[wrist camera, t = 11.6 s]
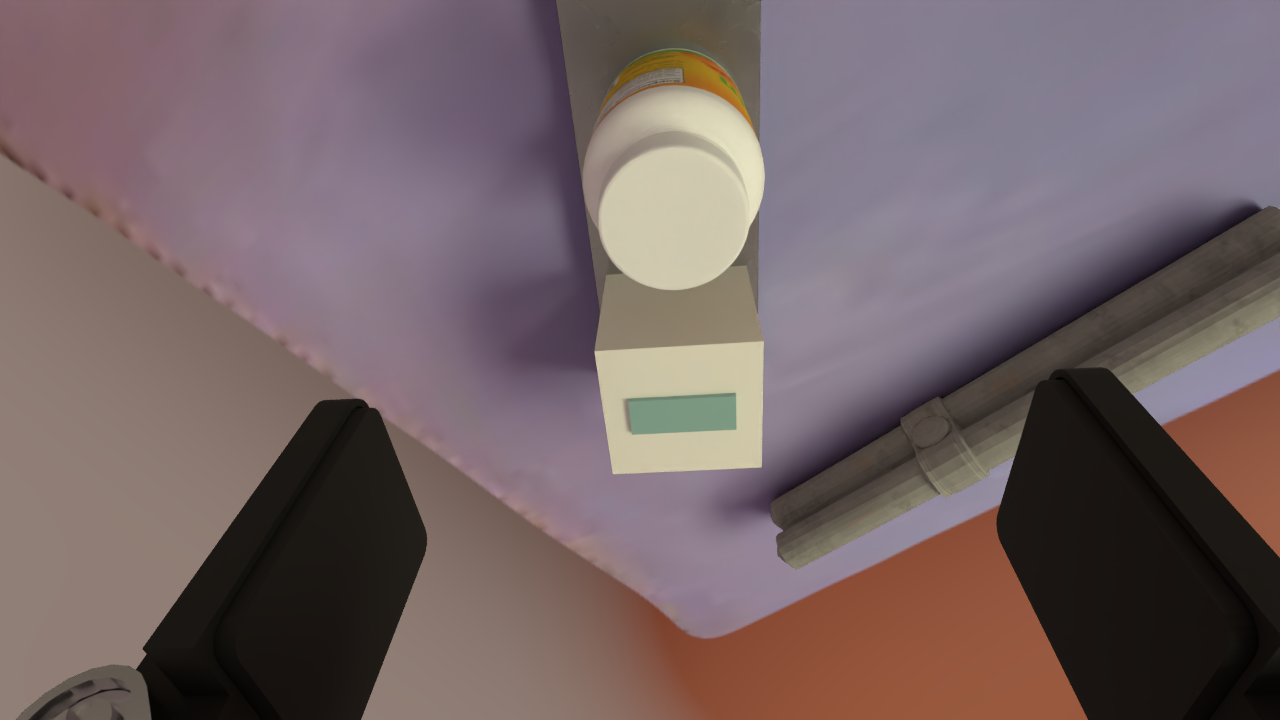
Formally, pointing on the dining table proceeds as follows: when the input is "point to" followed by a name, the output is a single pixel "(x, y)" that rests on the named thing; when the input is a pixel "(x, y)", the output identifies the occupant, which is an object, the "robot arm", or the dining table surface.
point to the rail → (639, 24)
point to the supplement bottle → (673, 170)
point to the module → (681, 375)
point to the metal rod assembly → (1000, 399)
